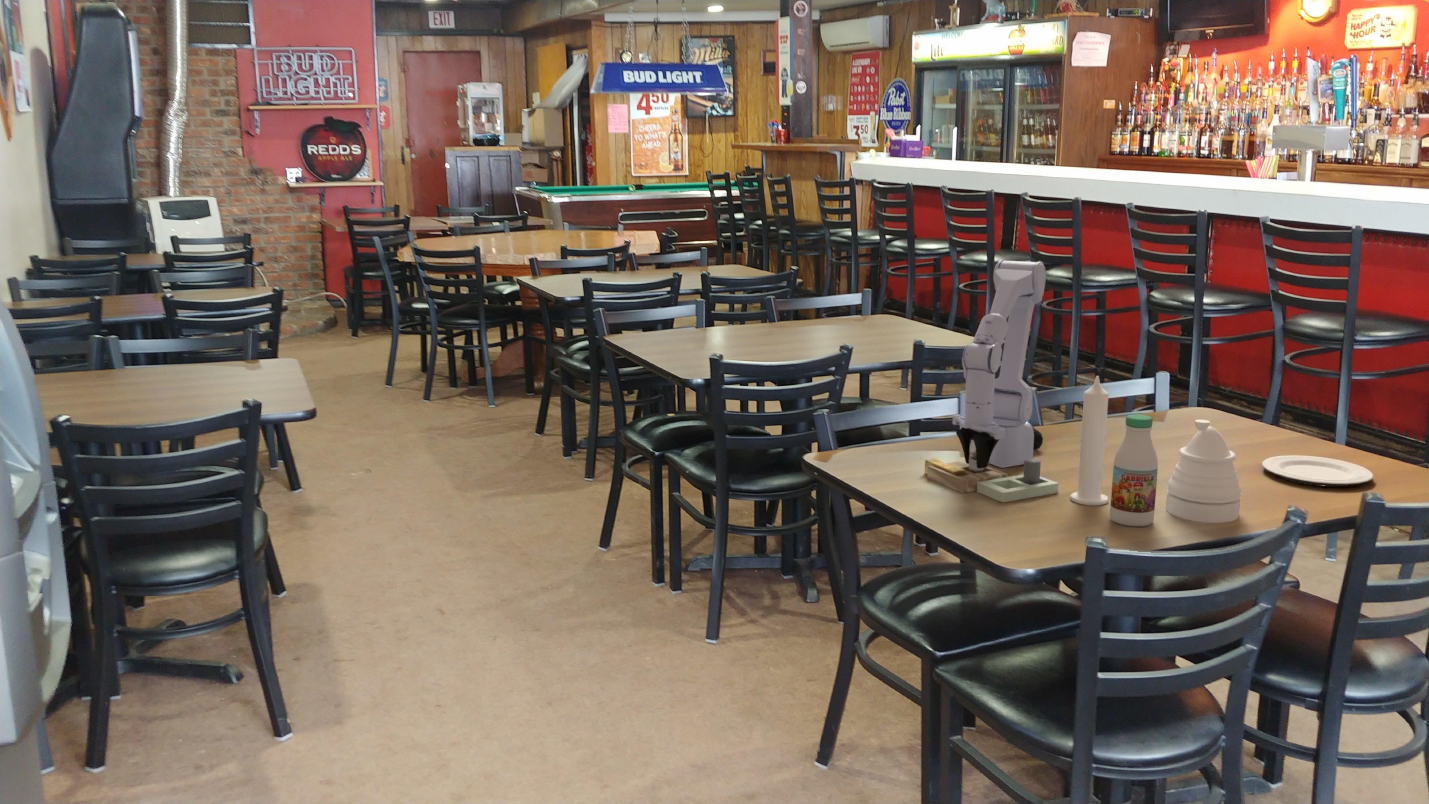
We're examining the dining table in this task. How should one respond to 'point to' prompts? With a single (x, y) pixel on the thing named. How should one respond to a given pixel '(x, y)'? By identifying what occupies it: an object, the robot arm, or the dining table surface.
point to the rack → (1019, 484)
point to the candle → (1092, 447)
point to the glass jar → (973, 458)
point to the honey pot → (1205, 479)
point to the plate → (1317, 470)
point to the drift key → (943, 467)
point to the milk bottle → (1135, 475)
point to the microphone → (1037, 439)
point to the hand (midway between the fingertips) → (976, 465)
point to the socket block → (963, 477)
